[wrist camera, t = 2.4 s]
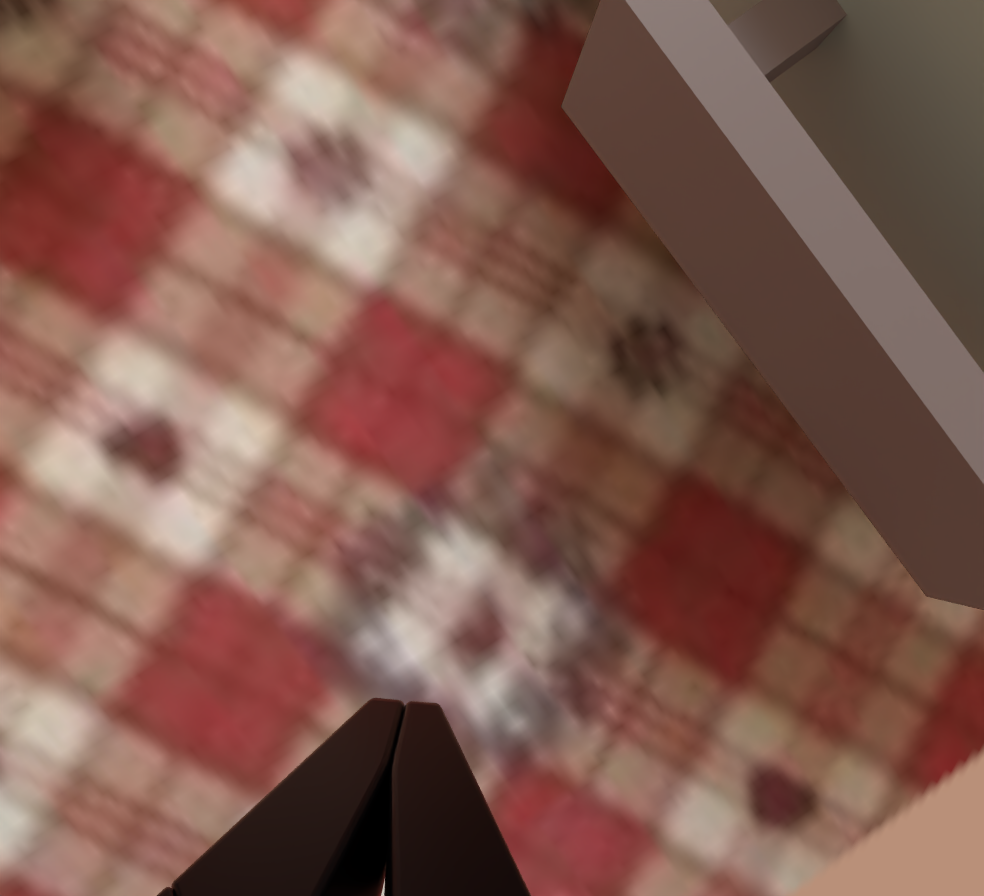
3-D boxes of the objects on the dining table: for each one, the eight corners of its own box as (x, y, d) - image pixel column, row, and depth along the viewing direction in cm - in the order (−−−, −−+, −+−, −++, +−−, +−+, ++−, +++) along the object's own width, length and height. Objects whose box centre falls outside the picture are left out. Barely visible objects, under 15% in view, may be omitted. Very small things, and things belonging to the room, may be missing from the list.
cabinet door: (885, 620, 21) (1212, 721, 12) (369, -70, 20) (328, -475, 12) (1039, 491, 21) (1457, 501, 13) (539, -185, 21) (621, -654, 12)
